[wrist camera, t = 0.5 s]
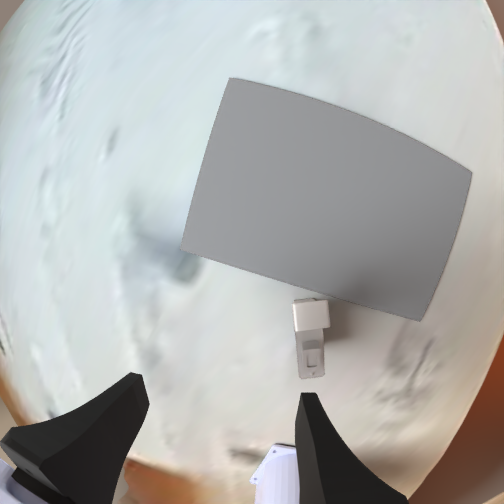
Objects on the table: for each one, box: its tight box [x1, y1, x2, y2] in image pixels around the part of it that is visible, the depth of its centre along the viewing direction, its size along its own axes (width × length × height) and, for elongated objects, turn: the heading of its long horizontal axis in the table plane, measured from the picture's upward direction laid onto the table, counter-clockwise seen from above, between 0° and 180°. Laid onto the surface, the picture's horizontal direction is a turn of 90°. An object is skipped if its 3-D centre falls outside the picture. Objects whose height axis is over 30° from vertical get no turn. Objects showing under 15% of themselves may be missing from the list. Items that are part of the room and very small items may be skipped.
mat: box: [180, 78, 472, 322], centre depth 19 cm, size 13×20×1 cm, turn 74°
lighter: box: [292, 298, 331, 379], centre depth 17 cm, size 7×2×8 cm, turn 9°
